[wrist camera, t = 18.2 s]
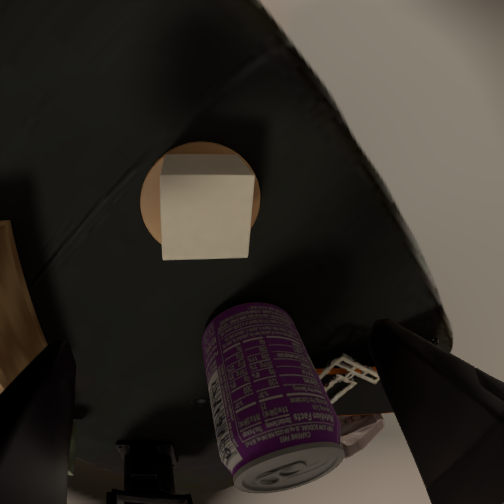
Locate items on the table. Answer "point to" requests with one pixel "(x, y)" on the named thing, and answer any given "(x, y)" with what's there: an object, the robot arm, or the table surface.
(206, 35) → the table surface
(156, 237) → the coaster
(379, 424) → the dental mold
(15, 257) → the cabinet
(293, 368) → the beverage can
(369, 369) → the model
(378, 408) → the smartphone
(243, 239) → the block
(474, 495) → the robot arm
